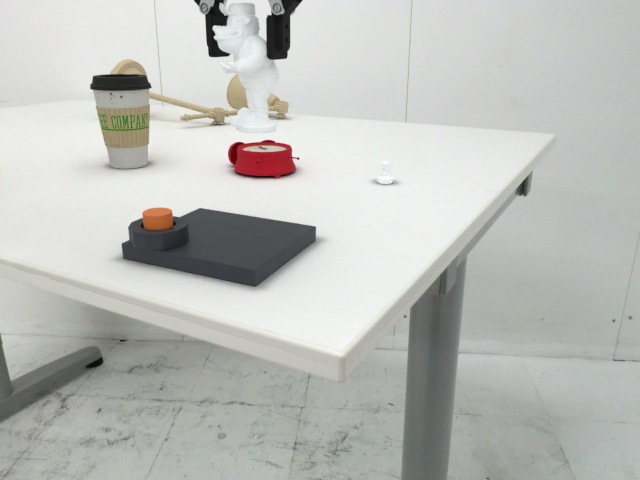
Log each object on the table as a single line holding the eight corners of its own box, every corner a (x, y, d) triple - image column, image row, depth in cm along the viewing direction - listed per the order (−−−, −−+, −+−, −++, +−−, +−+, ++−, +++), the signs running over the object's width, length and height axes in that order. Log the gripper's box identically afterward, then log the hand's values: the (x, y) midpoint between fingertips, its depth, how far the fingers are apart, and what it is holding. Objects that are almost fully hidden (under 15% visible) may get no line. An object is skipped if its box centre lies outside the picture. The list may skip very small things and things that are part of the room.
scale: (119, 259, 59) (116, 228, 58) (200, 220, 72) (199, 193, 70) (253, 288, 53) (251, 253, 52) (316, 240, 66) (316, 211, 64)
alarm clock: (249, 159, 88) (218, 123, 99) (246, 195, 91) (218, 156, 102) (309, 154, 93) (273, 120, 104) (305, 188, 96) (271, 152, 107)
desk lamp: (97, 65, 137) (242, 104, 126) (181, 43, 166) (305, 73, 155) (101, 124, 145) (238, 165, 134) (181, 93, 173) (299, 125, 162)
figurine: (211, 121, 63) (203, 4, 59) (269, 119, 65) (266, 5, 60) (223, 135, 55) (215, -1, 50) (289, 132, 56) (287, 0, 52)
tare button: (137, 229, 59) (136, 213, 58) (156, 221, 61) (155, 205, 61) (161, 234, 58) (159, 217, 57) (179, 225, 60) (178, 209, 60)
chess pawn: (389, 185, 89) (390, 163, 88) (374, 182, 90) (375, 161, 89) (395, 181, 92) (396, 160, 90) (380, 179, 93) (381, 158, 91)
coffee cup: (90, 170, 95) (78, 77, 90) (112, 157, 104) (102, 73, 99) (148, 171, 95) (139, 78, 90) (165, 159, 104) (158, 74, 99)
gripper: (137, -156, 51) (154, 56, 57) (313, -179, 44) (310, 63, 51) (187, -134, 57) (198, 53, 64) (347, -152, 51) (341, 59, 57)
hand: (248, 56), depth 57 cm, fingers closed on figurine, 6 cm apart
